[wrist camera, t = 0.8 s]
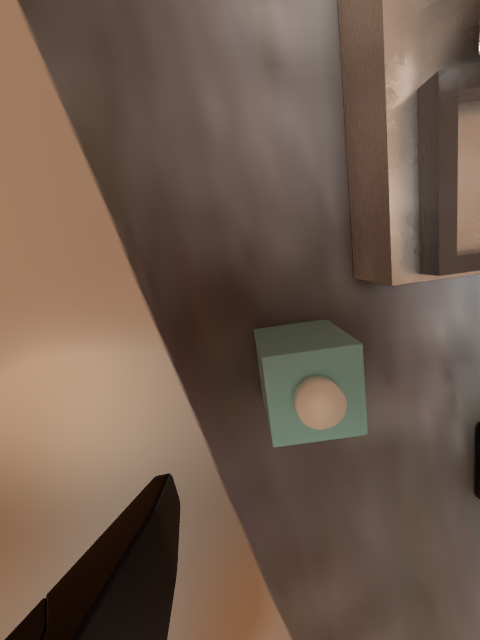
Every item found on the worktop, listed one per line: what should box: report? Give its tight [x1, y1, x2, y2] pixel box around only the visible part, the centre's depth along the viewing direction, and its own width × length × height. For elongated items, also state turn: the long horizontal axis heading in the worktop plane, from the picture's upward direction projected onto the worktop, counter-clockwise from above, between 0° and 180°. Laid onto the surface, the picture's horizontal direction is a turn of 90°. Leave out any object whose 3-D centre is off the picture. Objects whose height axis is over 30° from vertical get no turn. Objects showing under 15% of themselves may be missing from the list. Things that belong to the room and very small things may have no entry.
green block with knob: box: [254, 319, 368, 448], centre depth 18 cm, size 5×5×7 cm
